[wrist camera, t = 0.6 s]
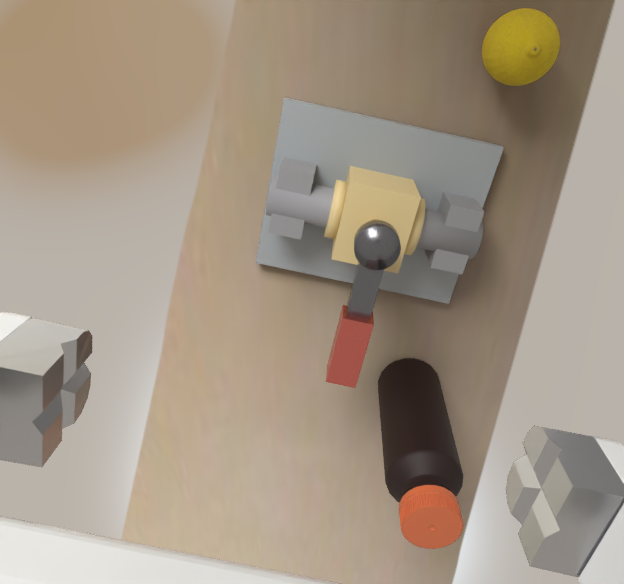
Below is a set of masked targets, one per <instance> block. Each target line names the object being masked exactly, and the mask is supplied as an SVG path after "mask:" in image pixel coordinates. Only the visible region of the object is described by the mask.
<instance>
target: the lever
mask: <svg viewBox="0 0 624 584" xmlns="http://www.w3.org/2000/svg"><path fill="white" fill-rule="evenodd" d="M400 251H401V244H400V240H399V236H398V233H397V231H396V229H395V228H394V227H393V226H392V225H391V224H389V223H388V222H385V221H381V220H373V221H369V222H367V223H365V224H363V225H362V226H361V227H360V228H359V229H358V230H357V232H356V234H355V237H354V253H355V256H356V259H357V260H358V265H357V269H356V273H355V277H354V281H353V284H352V288H351V292H350V296H349V300H348V304H347V306H345V305H343V307H342V311H341V315H340V318H339V322H338V326H337V330H336V334H335V338H334V342H333V345H332V349H331V353H330V357H329V361H328V365H327V375H326V382H329V383H334V384H339V385H344V386H349V387H354V388H355V387H356V384H357V380H358V377H359V374H360V370H361V367H362V363H363V360H364V356H365V353H366V350H367V346H368V343H369V339H370V336H371V332H372V329H373V326H374V322H373V311H372V310H373V307H374V303H375V300H376V296H377V293H378V289H379V286H380V282H381V279H382V275H383V272H384V269H386V268H388V267H390V266H392V265H393V264H394V263H395V262H396V261H397V259H398V257H399V255H400Z"/></svg>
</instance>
